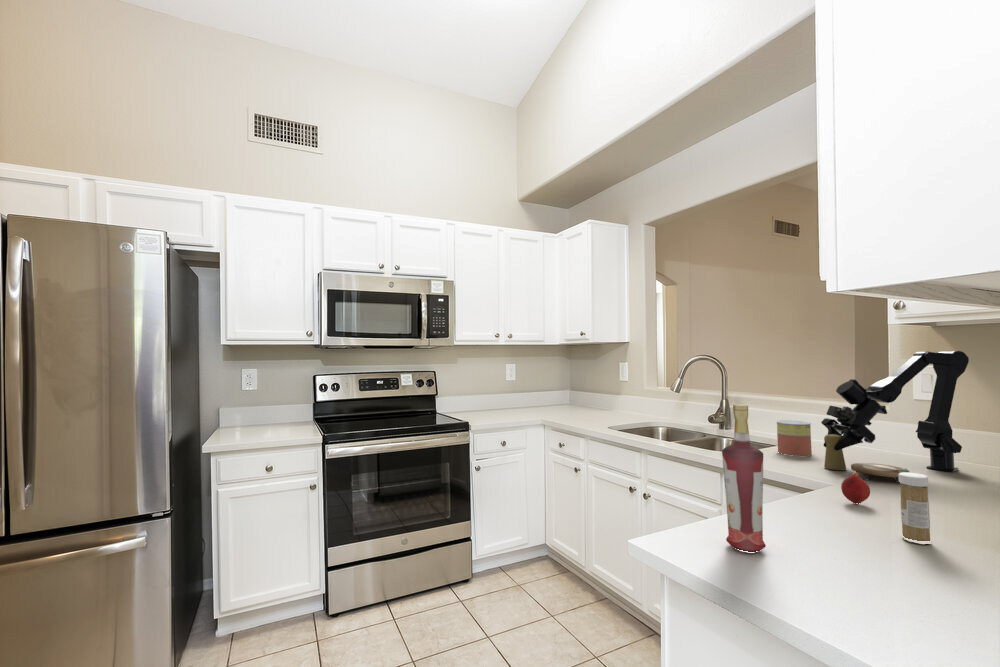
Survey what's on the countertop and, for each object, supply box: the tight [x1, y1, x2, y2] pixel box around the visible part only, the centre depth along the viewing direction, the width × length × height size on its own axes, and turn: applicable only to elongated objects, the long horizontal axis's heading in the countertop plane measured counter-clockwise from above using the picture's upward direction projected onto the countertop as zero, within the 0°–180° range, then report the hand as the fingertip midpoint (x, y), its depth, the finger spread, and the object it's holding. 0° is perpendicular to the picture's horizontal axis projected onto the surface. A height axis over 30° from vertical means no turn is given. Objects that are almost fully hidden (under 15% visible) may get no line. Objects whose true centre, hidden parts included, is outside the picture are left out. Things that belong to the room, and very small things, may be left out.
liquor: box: [721, 404, 766, 552], centre depth 92 cm, size 7×7×28 cm
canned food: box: [776, 420, 813, 457], centre depth 181 cm, size 11×11×12 cm
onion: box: [840, 471, 871, 505], centre depth 119 cm, size 6×6×8 cm
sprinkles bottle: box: [898, 471, 931, 541], centre depth 95 cm, size 5×5×14 cm
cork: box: [823, 434, 847, 471], centre depth 156 cm, size 6×6×11 cm
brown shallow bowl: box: [850, 462, 910, 483], centre depth 144 cm, size 14×14×4 cm
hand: (829, 448), depth 156 cm, fingers closed on cork, 5 cm apart
